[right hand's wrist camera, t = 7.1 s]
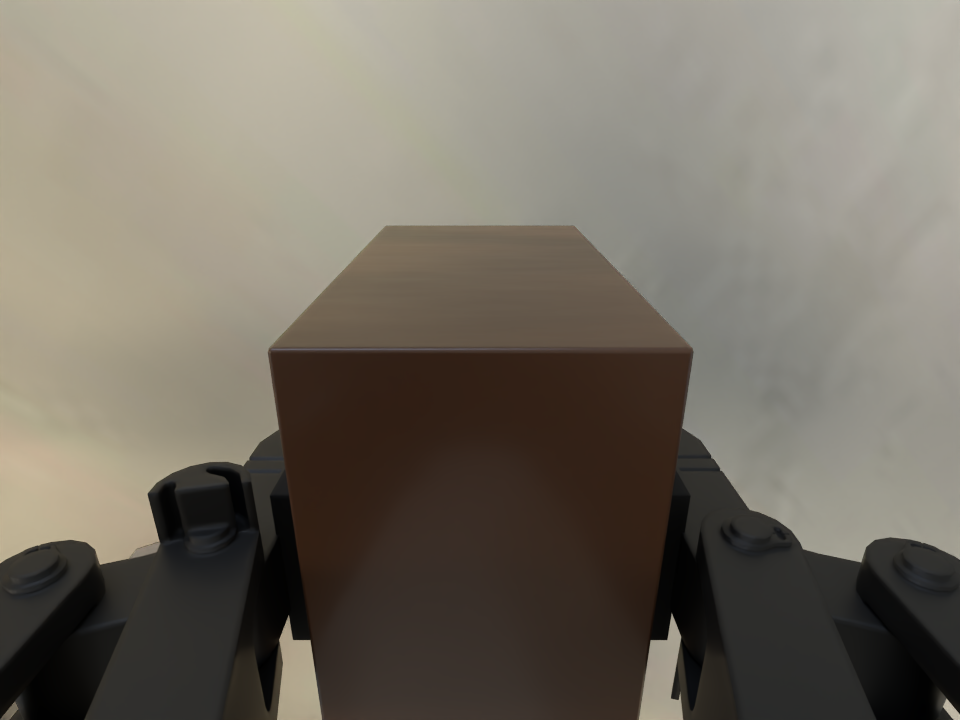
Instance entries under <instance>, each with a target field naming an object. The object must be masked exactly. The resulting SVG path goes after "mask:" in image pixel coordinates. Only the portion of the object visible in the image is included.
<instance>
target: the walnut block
mask: <svg viewBox="0 0 960 720" xmlns="http://www.w3.org/2000/svg"><path fill="white" fill-rule="evenodd" d="M268 356H269V363H270V370H271V377H272V383H273V390H274V397H275V403H276V410H277V417H278V424H279V430H280V437H281V444H282V451H283V457H284V464H285V471H286V478H287V484H288V491H289V498H290V505H291V511H292V518H293V525H294V532H295V538H296V545H297V552H298V559H299V565H300V572H301V579H302V586H303V592H304V599H305V606H306V613H307V619H308V626H309V633H310V640H311V646H312V653H313V660H314V667H315V673H316V680H317V687H318V694H319V700H320V707H321V714H322V720H639V714H640V707H641V701H642V694H643V687H644V680H645V674H646V667H647V660H648V654H649V647H650V640H651V634H652V627H653V620H654V613H655V607H656V600H657V593H658V587H659V580H660V573H661V566H662V560H663V553H664V546H665V540H666V533H667V526H668V519H669V513H670V506H671V499H672V493H673V486H674V479H675V472H676V466H677V459H678V452H679V446H680V439H681V432H682V426H683V419H684V412H685V405H686V399H687V392H688V385H689V379H690V372H691V365H692V358H693V349H692V347H691V346H690V345H689V344H688V343H687V342H686V341H685V340H684V339H683V338H682V337H681V336H680V335H679V334H678V333H677V332H676V331H675V330H674V329H673V328H672V327H671V326H670V325H669V323H668V322H667V321H666V320H665V319H664V318H663V317H662V316H661V315H660V314H659V313H658V312H657V311H656V310H655V309H654V308H653V307H652V306H651V305H650V304H649V303H648V302H647V301H646V300H645V299H644V298H643V297H642V296H641V295H640V293H639V292H638V291H637V290H636V289H635V288H634V287H633V286H632V285H631V284H630V283H629V282H628V281H627V280H626V279H625V278H624V277H623V276H622V275H621V274H620V273H619V272H618V271H617V270H616V269H615V268H614V267H613V266H612V265H611V263H610V262H609V261H608V260H607V259H606V258H605V257H604V256H603V255H602V254H601V253H600V252H599V251H598V250H597V249H596V248H595V247H594V246H593V245H592V244H591V243H590V242H589V241H588V240H587V239H586V238H585V237H584V236H583V234H582V233H581V232H580V231H579V230H578V229H577V228H576V227H575V226H385V227H384V228H383V229H382V230H381V231H380V232H379V233H378V234H377V236H376V237H375V238H374V239H373V240H372V241H371V242H370V243H369V244H368V245H367V246H366V247H365V248H364V249H363V250H362V251H361V252H360V253H359V254H358V255H357V257H356V258H355V259H354V260H353V261H352V262H351V263H350V264H349V265H348V266H347V267H346V268H345V269H344V270H343V271H342V272H341V273H340V274H339V275H338V276H337V278H336V279H335V280H334V281H333V282H332V283H331V284H330V285H329V286H328V287H327V288H326V289H325V290H324V291H323V292H322V293H321V294H320V295H319V296H318V297H317V299H316V300H315V301H314V302H313V303H312V304H311V305H310V306H309V307H308V308H307V309H306V310H305V311H304V312H303V313H302V314H301V315H300V316H299V317H298V318H297V320H296V321H295V322H294V323H293V324H292V325H291V326H290V327H289V328H288V329H287V330H286V331H285V332H284V333H283V334H282V335H281V336H280V337H279V338H278V339H277V341H276V342H275V343H274V344H273V345H272V346H271V347H270V348H269V350H268Z"/></svg>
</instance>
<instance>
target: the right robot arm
mask: <svg viewBox="0 0 960 720" xmlns="http://www.w3.org/2000/svg"><path fill="white" fill-rule="evenodd" d="M148 498H149V501H150V505H151V509H152V513H153V517H154V521H155V525H156V529H157V533H158V536H159V540H160V545H159V547H158V550H157V552H155V553H152V554H148V555H144V556H140V557H135V558H131V559H126V560H121V561H116V562H112V563H107V564H102V565H100V564H99V561H98V558H97V555H96V552H95V549H94V548H92V547H91V546H90V545H89V544H87V543H86V542H80V541H74V540H67V541H58V542H50V543H46V544H41V545H40V546H35V547H32V548H29V549H26V550H24V551H23V552H21V553H19V554H17V555H15V556H12V557H10V558H8V559H6V560H5V561H3V562H2V563H1V564H0V719H1V717H2V716H3V715H4V714H5V712H6V711H7V710H8V709H9V708H10V706H11V705H12V704H13V703H14V702H16V704H17V706H18V710H17V712H16V713H15V714H14V715H13V717H12V718H11V719H10V720H277V713H278V704H279V694H280V685H281V675H282V666H283V661H282V654H281V648H280V642H279V638H280V636H281V633H282V631H283V628H284V626H285V623H286V621H287V618H288V615H289V618H290V624H291V630H292V636H293V640H310V633H309V626H308V619H307V613H306V606H305V599H304V592H303V586H302V579H301V572H300V565H299V559H298V552H297V545H296V538H295V532H294V525H293V518H292V511H291V505H290V498H289V491H288V484H287V478H286V471H285V464H284V457H283V451H282V444H281V437H280V430H278V431H276V432H275V433H273V434H272V435H270V436H269V437H267V438H266V439H264V440H263V441H261V442H260V443H259V445H258V446H257V448H256V449H255V451H254V452H253V453H252V455H251V456H250V460H249V461H247V462H246V463H245V465H244V466H242V465H238V464H233V463H229V462H209V463H204V464H199V465H194V466H190V467H187V468H185V469H182V470H180V471H177V472H174V473H172V474H170V475H169V476H167V477H166V478H164V479H162V480H161V481H159V482H158V483H157V484H156V485H155V486H154V487H153V488H152V489H151V490H150V492H149V493H148ZM671 614H673V617H674V619H675V622H676V624H677V627H678V629H679V632H680V634H681V642H680V648H679V654H678V660H677V665H676V671H675V677H674V682H673V688H672V695H671V699H676V700H679V695H680V693H681V702H682V712H683V720H953V719H952V718H951V716H950V715H949V714H948V713H947V712H946V710H945V709H944V708H943V705H944V703H945V700H946V698H947V699H948V700H949V702H950V703H951V704H952V705H953V706H954V708H955V709H956V710H957V711H958V712H959V714H960V560H959V559H957V558H956V557H954V556H952V555H950V554H948V553H946V552H944V551H942V550H940V549H938V548H936V547H934V546H931V545H928V544H925V543H921V542H918V541H913V540H908V539H899V538H885V539H879V540H874V541H873V542H872V543H871V544H870V545H868V546H867V547H866V550H865V553H864V556H863V559H862V563H861V562H856V561H851V560H846V559H842V558H837V557H832V556H827V555H822V554H818V553H814V552H811V551H807V550H803V549H802V546H801V544H800V542H799V541H798V539H797V538H796V537H795V535H794V534H793V533H792V531H791V530H789V529H788V528H787V527H785V526H784V525H783V524H781V523H780V522H779V521H777V520H775V519H773V518H771V517H768V516H766V515H764V514H762V513H759V512H755V511H751V510H749V509H748V507H747V506H746V504H745V503H744V502H743V500H742V499H741V497H740V496H739V494H738V493H737V492H736V490H735V489H734V487H733V486H732V485H731V483H730V482H729V480H728V479H727V477H726V476H725V475H724V473H723V472H722V471H720V468H719V466H718V465H717V463H716V462H715V460H714V459H711V455H710V453H709V452H708V451H707V449H706V448H705V446H704V445H703V443H702V442H701V441H700V440H699V439H697V438H696V437H694V436H693V435H691V434H690V433H688V432H687V431H685V430H684V429H682V432H681V439H680V446H679V452H678V459H677V466H676V472H675V479H674V486H673V493H672V499H671V506H670V513H669V519H668V526H667V533H666V540H665V546H664V553H663V560H662V566H661V573H660V580H659V587H658V593H657V600H656V607H655V613H654V620H653V627H652V634H651V640H667V638H668V632H669V626H670V620H671Z"/></svg>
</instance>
